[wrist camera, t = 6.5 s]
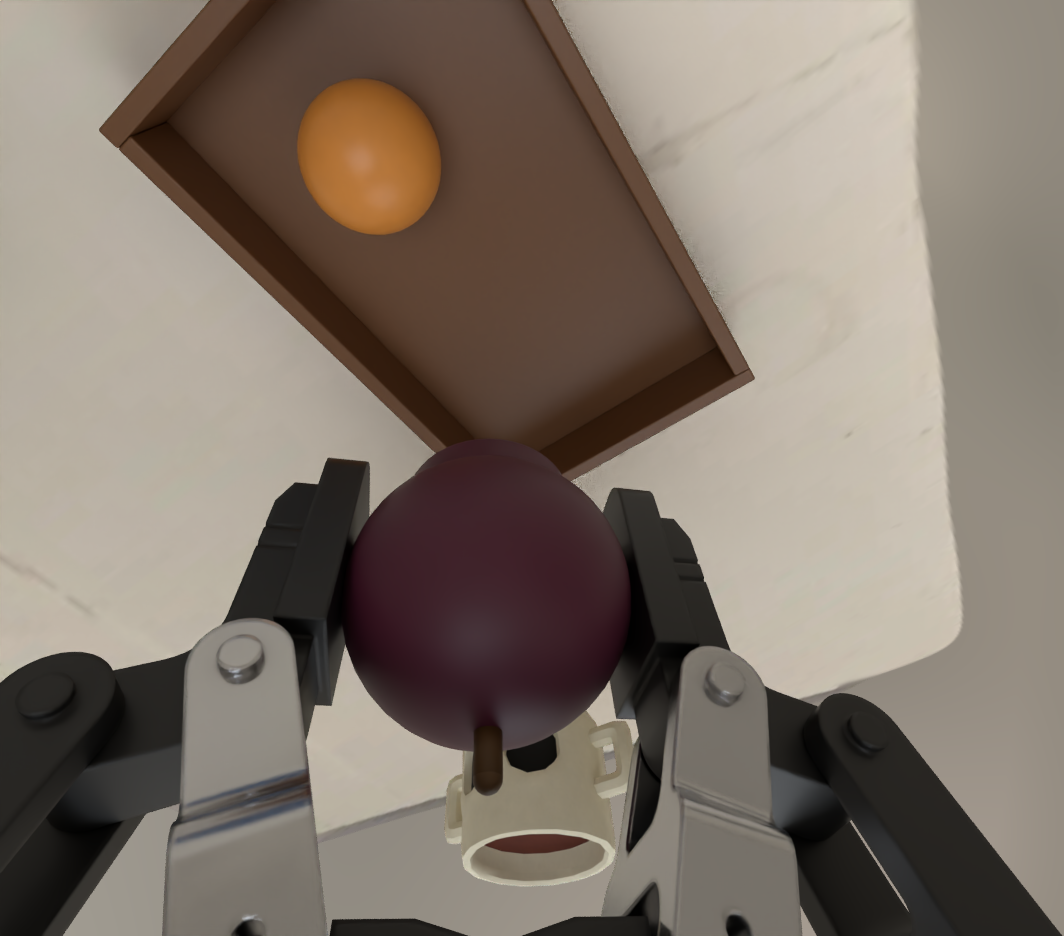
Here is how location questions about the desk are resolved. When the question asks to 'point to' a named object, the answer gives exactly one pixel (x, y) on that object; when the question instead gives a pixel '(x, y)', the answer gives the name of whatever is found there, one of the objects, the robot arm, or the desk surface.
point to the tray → (447, 220)
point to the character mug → (543, 808)
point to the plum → (486, 602)
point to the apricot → (369, 156)
